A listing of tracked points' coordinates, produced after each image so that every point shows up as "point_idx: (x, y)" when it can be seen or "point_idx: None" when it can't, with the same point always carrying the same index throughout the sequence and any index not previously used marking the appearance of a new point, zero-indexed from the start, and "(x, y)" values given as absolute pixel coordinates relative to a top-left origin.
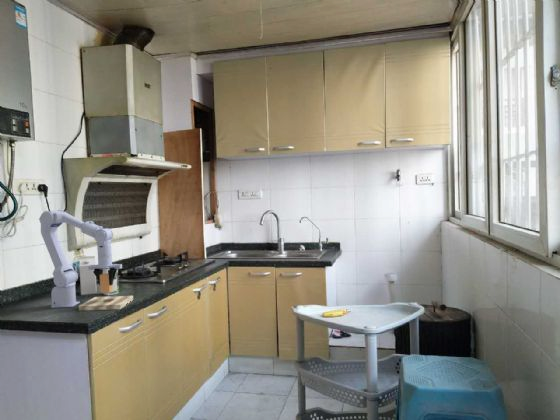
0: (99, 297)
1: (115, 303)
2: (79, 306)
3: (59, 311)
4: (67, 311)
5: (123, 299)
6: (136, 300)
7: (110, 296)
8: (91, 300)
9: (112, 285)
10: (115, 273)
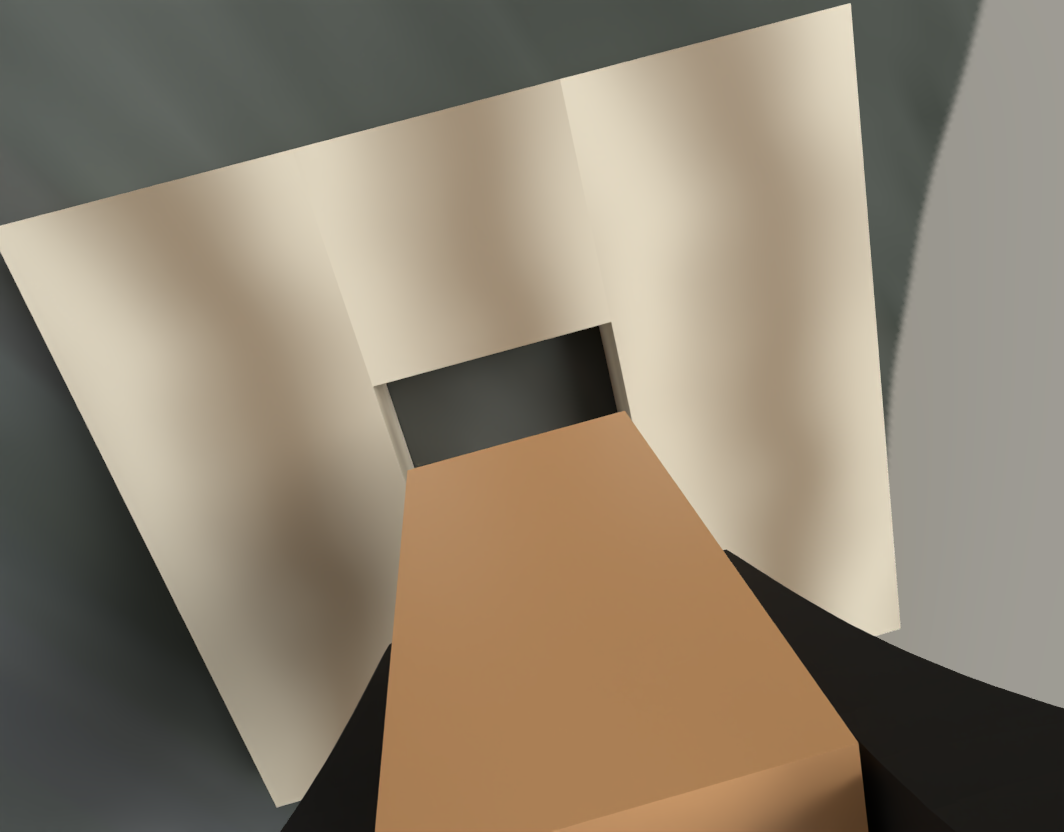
0: (150, 255)
1: (792, 589)
2: (288, 798)
3: (11, 828)
4: (140, 805)
5: (799, 342)
6: (893, 57)
7: (350, 135)
8: (187, 496)
9: (662, 474)
10: (1056, 728)
